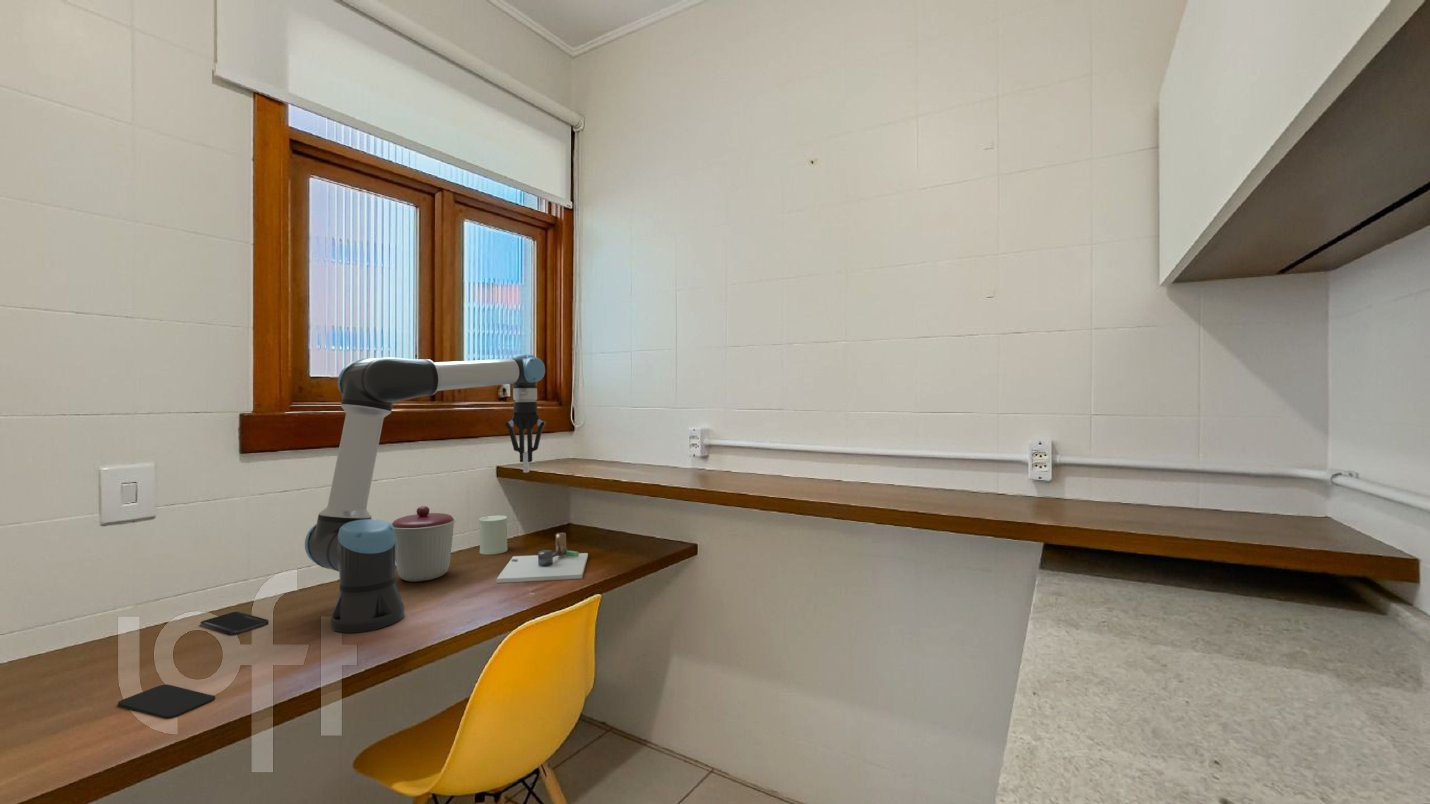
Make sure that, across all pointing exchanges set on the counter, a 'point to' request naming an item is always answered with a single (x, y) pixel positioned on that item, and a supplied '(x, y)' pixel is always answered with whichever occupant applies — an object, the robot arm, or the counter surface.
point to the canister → (423, 544)
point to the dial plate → (544, 568)
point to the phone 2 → (234, 623)
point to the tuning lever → (547, 555)
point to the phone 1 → (166, 701)
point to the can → (493, 534)
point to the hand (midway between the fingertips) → (526, 472)
